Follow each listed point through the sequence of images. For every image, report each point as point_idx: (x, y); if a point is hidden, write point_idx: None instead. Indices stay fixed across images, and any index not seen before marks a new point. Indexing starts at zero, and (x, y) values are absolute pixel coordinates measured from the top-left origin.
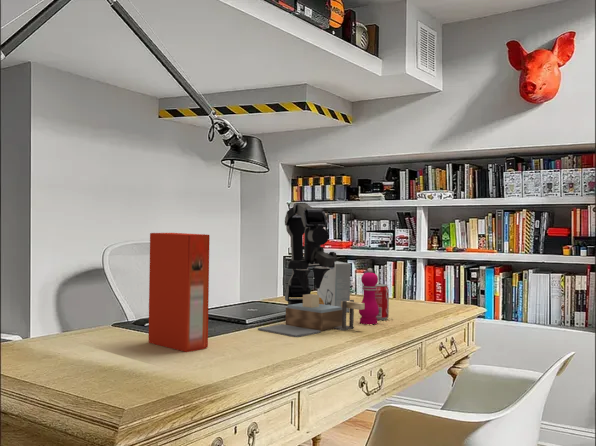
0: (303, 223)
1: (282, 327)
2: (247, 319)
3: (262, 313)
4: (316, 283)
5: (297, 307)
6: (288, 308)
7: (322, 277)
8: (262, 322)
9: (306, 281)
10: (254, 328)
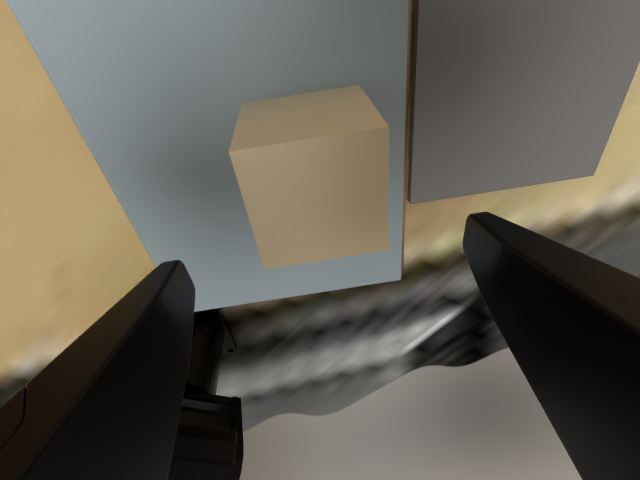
0: None
1: (496, 125)
2: (397, 355)
3: (265, 410)
4: (179, 346)
5: (401, 197)
6: (403, 251)
7: (3, 424)
8: (404, 297)
9: (601, 279)
10: (554, 210)
